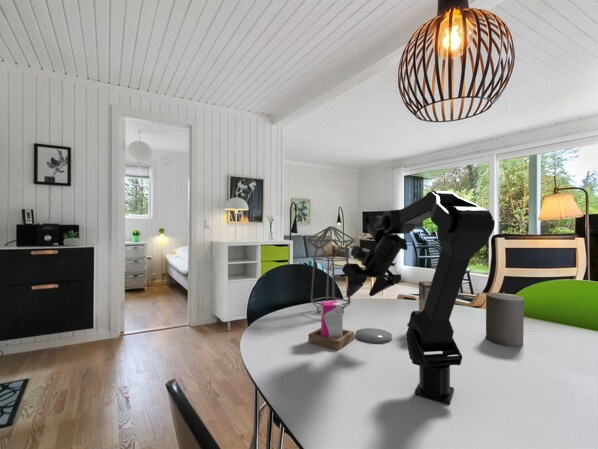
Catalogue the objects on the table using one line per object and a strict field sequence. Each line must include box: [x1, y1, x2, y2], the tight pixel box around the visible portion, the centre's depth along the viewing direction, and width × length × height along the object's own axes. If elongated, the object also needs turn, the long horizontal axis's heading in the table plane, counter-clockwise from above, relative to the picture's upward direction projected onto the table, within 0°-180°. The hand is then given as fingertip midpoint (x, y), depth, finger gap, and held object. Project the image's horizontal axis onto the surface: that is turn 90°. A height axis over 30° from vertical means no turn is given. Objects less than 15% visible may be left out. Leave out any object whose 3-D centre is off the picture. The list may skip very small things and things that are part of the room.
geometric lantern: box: [306, 226, 357, 315], centre depth 123 cm, size 16×16×35 cm
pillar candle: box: [485, 291, 525, 348], centre depth 93 cm, size 10×10×15 cm
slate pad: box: [355, 327, 393, 344], centre depth 95 cm, size 11×11×1 cm
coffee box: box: [418, 281, 432, 311], centre depth 100 cm, size 9×6×16 cm
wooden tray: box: [307, 327, 355, 351], centre depth 91 cm, size 10×10×2 cm
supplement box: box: [320, 300, 343, 339], centre depth 91 cm, size 6×6×12 cm
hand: (359, 295), depth 90 cm, fingers open, 9 cm apart
